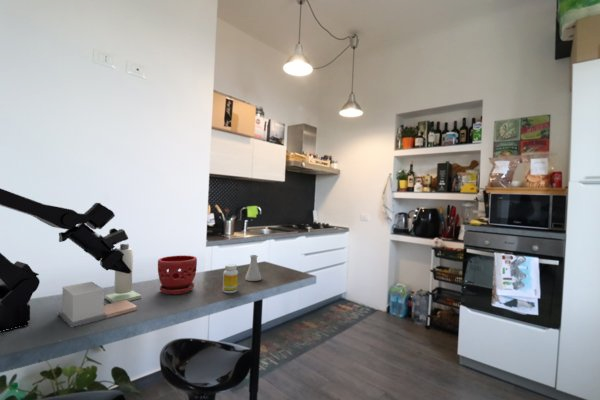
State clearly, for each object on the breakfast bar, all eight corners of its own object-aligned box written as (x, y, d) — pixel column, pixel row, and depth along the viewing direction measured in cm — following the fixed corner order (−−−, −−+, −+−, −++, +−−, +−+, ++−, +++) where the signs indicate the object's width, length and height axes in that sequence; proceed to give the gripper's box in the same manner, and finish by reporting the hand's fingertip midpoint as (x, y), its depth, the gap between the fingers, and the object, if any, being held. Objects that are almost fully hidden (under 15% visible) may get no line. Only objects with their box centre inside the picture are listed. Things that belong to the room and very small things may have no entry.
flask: (242, 277, 125) (243, 254, 124) (258, 276, 128) (259, 253, 128) (247, 282, 118) (247, 258, 118) (264, 280, 121) (264, 257, 121)
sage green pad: (114, 304, 91) (114, 301, 91) (104, 298, 96) (105, 295, 96) (141, 298, 97) (141, 295, 97) (131, 292, 102) (131, 289, 102)
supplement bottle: (221, 289, 108) (221, 264, 108) (235, 287, 111) (235, 262, 111) (224, 294, 104) (225, 267, 103) (239, 292, 106) (240, 266, 106)
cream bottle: (117, 294, 93) (119, 246, 92) (111, 291, 96) (113, 244, 96) (134, 291, 97) (135, 244, 96) (128, 287, 100) (129, 242, 100)
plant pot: (203, 288, 109) (204, 256, 109) (175, 299, 97) (176, 263, 97) (178, 282, 114) (179, 252, 114) (148, 292, 103) (149, 258, 102)
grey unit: (71, 327, 75) (72, 296, 75) (58, 314, 82) (59, 286, 82) (106, 318, 81) (107, 289, 81) (92, 306, 89) (92, 280, 88)
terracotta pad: (106, 318, 81) (106, 314, 81) (96, 310, 86) (96, 306, 86) (137, 309, 87) (137, 306, 87) (126, 302, 92) (126, 299, 92)
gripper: (116, 224, 86) (155, 257, 94) (106, 218, 100) (140, 247, 108) (83, 253, 81) (126, 285, 89) (76, 243, 95) (115, 272, 103)
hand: (128, 270), depth 97 cm, fingers closed on cream bottle, 5 cm apart
